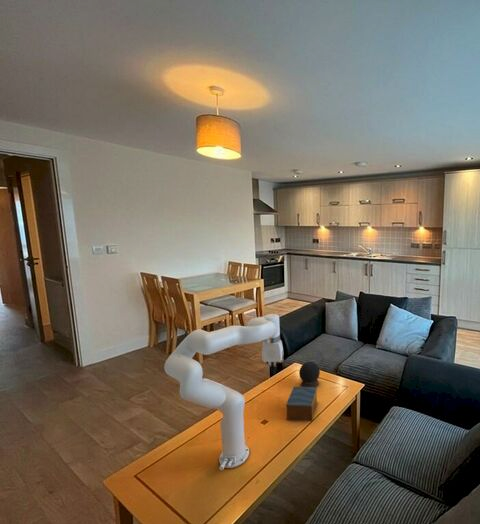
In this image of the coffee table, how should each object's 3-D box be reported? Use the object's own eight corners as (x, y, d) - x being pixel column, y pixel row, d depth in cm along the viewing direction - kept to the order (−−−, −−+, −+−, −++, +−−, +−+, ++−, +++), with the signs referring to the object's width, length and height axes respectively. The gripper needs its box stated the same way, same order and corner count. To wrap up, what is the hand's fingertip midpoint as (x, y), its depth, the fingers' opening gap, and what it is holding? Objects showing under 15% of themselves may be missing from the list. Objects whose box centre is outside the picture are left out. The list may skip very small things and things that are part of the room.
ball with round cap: (310, 392, 177) (310, 370, 175) (295, 385, 184) (294, 364, 182) (323, 382, 188) (323, 361, 186) (308, 376, 195) (308, 356, 193)
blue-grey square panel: (311, 406, 150) (311, 405, 150) (286, 405, 151) (285, 404, 151) (316, 388, 167) (316, 387, 167) (293, 387, 167) (293, 386, 167)
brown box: (311, 420, 153) (311, 405, 151) (286, 419, 153) (286, 404, 152) (316, 402, 168) (316, 388, 167) (294, 401, 169) (293, 387, 167)
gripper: (254, 341, 140) (256, 375, 143) (284, 342, 139) (285, 377, 142) (260, 335, 147) (262, 368, 150) (288, 336, 147) (289, 369, 149)
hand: (273, 372), depth 146 cm, fingers closed
